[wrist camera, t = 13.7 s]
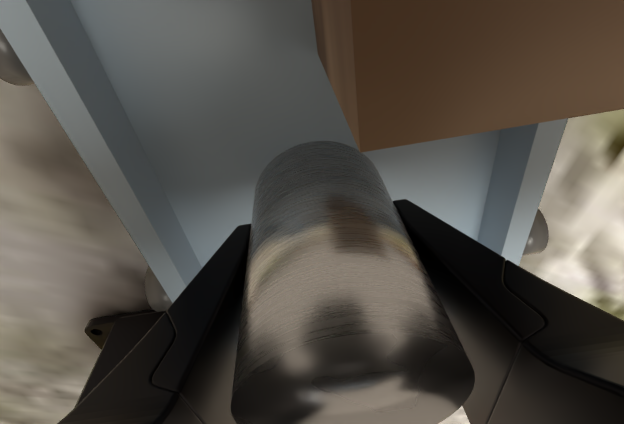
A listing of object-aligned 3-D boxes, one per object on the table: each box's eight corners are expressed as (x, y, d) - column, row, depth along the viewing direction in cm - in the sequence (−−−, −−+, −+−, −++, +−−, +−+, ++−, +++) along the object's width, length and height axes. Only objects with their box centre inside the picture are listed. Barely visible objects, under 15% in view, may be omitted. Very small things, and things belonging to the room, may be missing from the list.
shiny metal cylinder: (383, 238, 11) (458, 434, 7) (269, 256, 12) (262, 462, 7) (382, 129, 9) (496, 312, 4) (238, 153, 9) (193, 358, 4)
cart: (495, 283, 17) (521, 321, 15) (201, 328, 17) (191, 371, 15) (692, -399, 6) (874, -559, 4) (-131, -235, 6) (-299, -318, 4)
